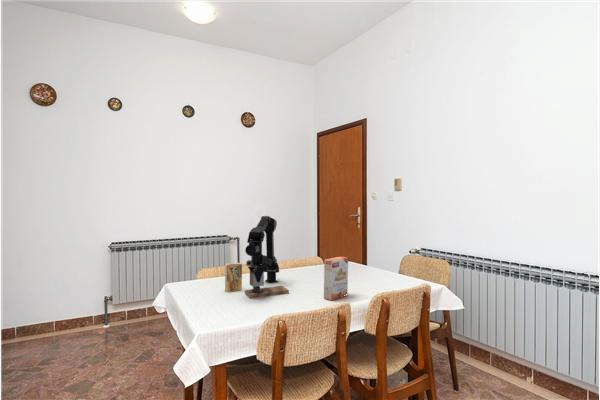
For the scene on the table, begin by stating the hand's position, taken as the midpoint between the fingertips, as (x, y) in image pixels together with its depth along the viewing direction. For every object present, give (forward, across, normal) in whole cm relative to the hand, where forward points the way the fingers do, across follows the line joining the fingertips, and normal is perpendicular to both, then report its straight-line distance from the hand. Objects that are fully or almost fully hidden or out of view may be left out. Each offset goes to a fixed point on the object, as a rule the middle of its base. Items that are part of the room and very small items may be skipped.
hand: (256, 281), depth 194 cm
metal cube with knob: (+2, 0, 0) cm, 2 cm away
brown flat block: (+7, 0, -6) cm, 9 cm away
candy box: (+8, +14, +9) cm, 18 cm away
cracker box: (+8, -22, -37) cm, 44 cm away
